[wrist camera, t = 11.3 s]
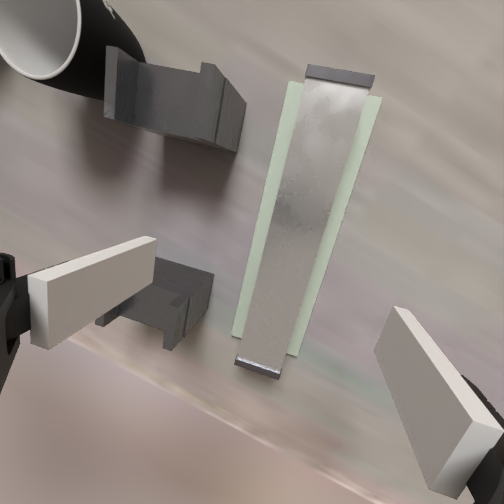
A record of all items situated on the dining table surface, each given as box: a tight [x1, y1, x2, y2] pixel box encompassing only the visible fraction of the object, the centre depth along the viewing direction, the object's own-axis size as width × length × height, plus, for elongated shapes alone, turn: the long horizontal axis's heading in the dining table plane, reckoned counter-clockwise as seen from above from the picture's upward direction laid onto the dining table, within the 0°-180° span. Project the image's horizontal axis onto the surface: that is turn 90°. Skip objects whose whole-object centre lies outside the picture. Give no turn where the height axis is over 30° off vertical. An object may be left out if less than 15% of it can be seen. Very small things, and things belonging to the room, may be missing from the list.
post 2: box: [95, 257, 214, 351], centre depth 30 cm, size 9×5×10 cm, turn 77°
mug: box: [0, 0, 146, 100], centre depth 24 cm, size 12×9×10 cm
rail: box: [234, 64, 375, 380], centre depth 27 cm, size 30×5×5 cm, turn 167°
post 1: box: [103, 45, 246, 152], centre depth 24 cm, size 9×5×10 cm, turn 77°
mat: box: [231, 81, 382, 357], centre depth 30 cm, size 9×30×1 cm, turn 167°
